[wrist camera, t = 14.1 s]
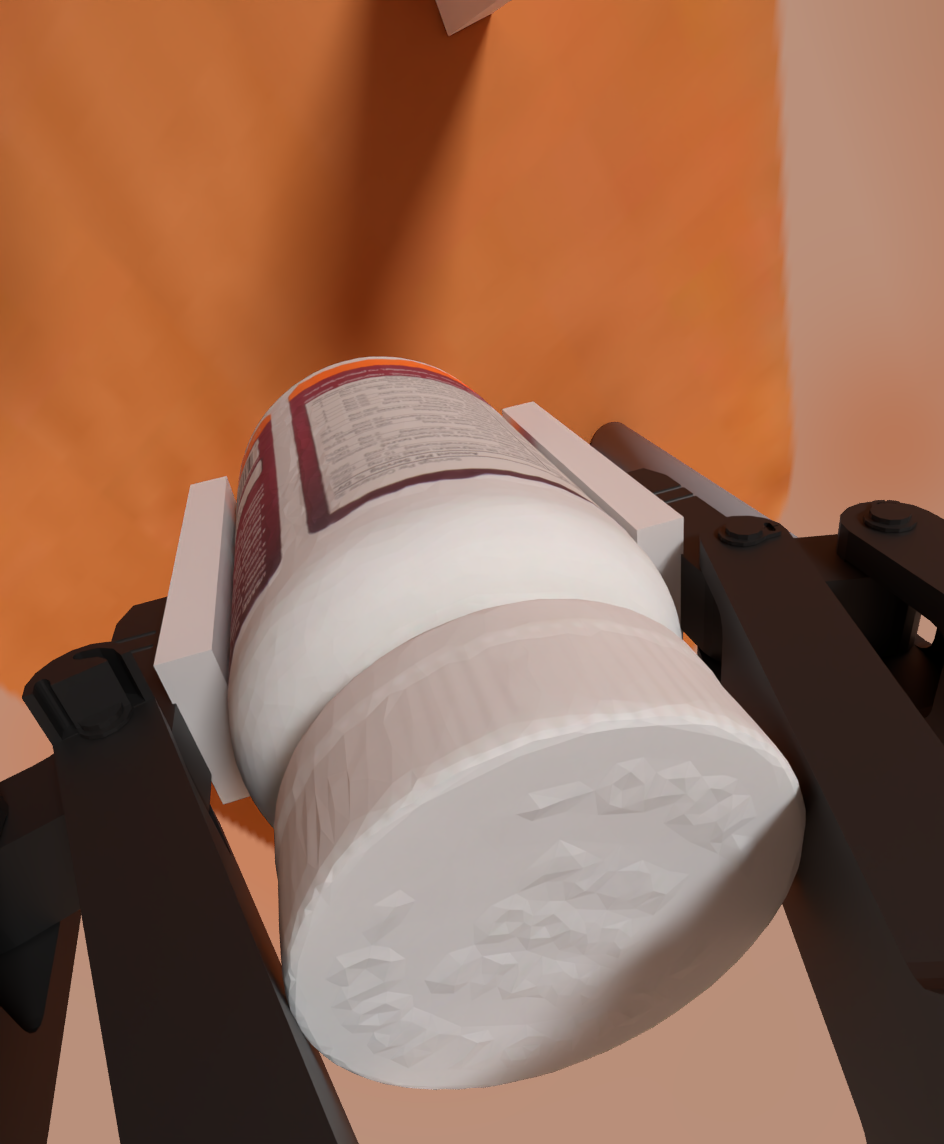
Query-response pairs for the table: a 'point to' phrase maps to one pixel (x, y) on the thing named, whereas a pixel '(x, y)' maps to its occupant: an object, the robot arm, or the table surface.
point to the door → (664, 467)
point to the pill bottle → (480, 744)
